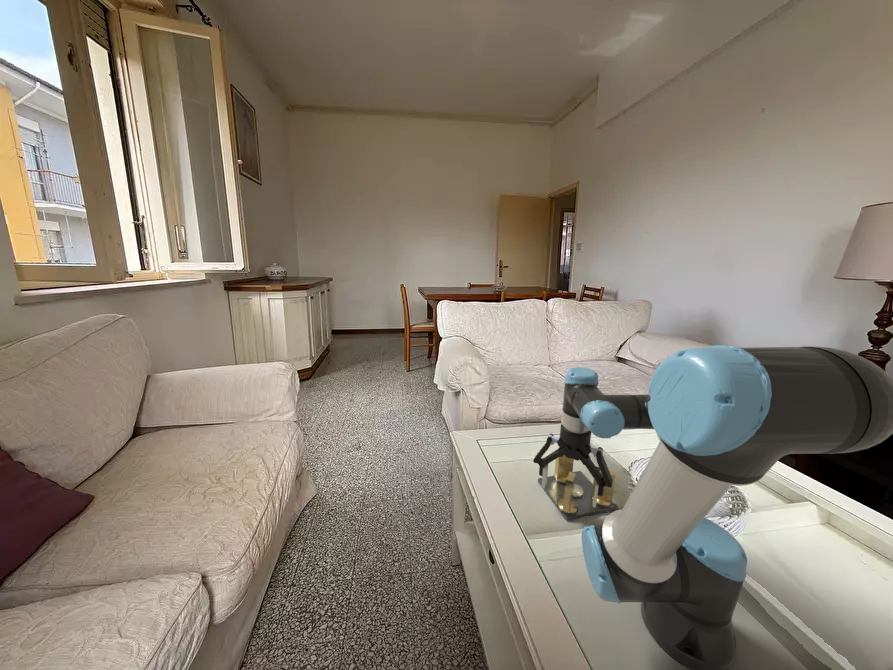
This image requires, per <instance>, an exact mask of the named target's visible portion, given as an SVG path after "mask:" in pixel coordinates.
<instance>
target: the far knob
mask: <svg viewBox="0 0 893 670" xmlns="http://www.w3.org/2000/svg"><path fill="white" fill-rule="evenodd" d="M574 461H575V460H574V459H572V458H567V457H566V456H565V455H562V456H561V457H558V458H557V459H555V463H554V464H555V465H554V473H553V476H554V477H555V479H556V480H557V481H559V482H562V483H565V481H566V479H567V477H568V474H569V472H574Z"/></svg>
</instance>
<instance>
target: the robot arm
mask: <svg viewBox="0 0 893 670" xmlns="http://www.w3.org/2000/svg"><path fill="white" fill-rule="evenodd" d="M563 383H564V387H563V388H564V390H563V401H562V410H561V420H560V423H561V425H560V429H559V437H556V436H554V433H549V435H548V436H547V438H546V442H545V443H544V444H543V446H542V447H541V448H540V449H539V451H538V452H537V453H536V455H535V456H534V458H533V461H532V462H533V463H534V464H538V466H539V470H538V474H539V476H540V477H541V478H542V487H541V486H540V487H541V489H544V488H545V486H546V484H547V477H548V474H549V473H548V471H549V465H550V464H551V463H552V462H554V461H556V459H557V458H558V457H561V456H562V455H565V456H566V457H567V458H572V459H574V461H580V462H581V463H582V465H583V466H585V467H586V469H587V470H588V472H589V473H590V474H591V476H592V478H593V480H594V479H595V480H596V485H595V492H594V499H593V507H596V504H597V499H598V496H601V497H602V495H603V490H604V487H605V486H607V487H612V483H613V479H612V477H611V474H610V472H609V471H610V470H609V467H608V465H607V462H606V460H605V456H604V448H602V446H599V447H597V448H595V447H592V446H591V440H592V435H594V436H595V437H597V438H601V439H611V438H613V437H615V436H618V435H619V434H620V433H621V432H622V431H623V430H654V431H655V432H656V436H657V438H658V441H659V442H658V444H657V446H656V447H655V450H653V451H654V452H653V453H652V454H651V456H650V458H649V461H648V462H647V464H646V465H645V468H644V469H643V471H642V473H641V475H640V477H639V479H637V482H636V484H635V486H634V488H633V489H632V490H631V493H630V494H629V496H628V498H627V500H626V501H625V504H623V505H624V506H623V507H622V509H617V510H614V511H611V513H609V514H608V515H607V516H606V518H605V519H604V520H603V523H602V524H601V525H594V524H591V525H587V526H584V527H583V529H582V531H581V547H582V553H583V558H584V559H583V560H584V562H585V567H586V571H587V574H588V577H589V580H590V583H591V586H592V587H593V589H594V591H595V594H596V595H597V596H598V598H600V599H601V600H602V601H603V602H609V603H615V604H618V605H620V604H621V603H641V605H640V612H641V613H640V614H641V617H642V618H641V619H642V620H643V623H644V625H645V627H646V630H647V631H648V633H649V634H650V636H651V637H652V639H653V640H654V641H655V643H656V644H657V645H658V646H660V648H662V650H663V651H664V652H665V653H667V654H668V655H669V656H670V657H671V658H673V659H674V660H676V661H677V662H679V663H680V664H681V665H684V666H685V667H687V668H689V669H692V670H727V669H728V670H729V669H731V667H732V665H733V663H734V661H735V658H736V654H737V640H736V635H735V633H734V628H733V627H734V626H733V621H732V619H733V615H734V612H735V609H736V605H737V603H738V600H739V597H740V593H741V591H742V587H743V584H744V581H745V580H746V577H747V572H746V570H747V567H748V556H747V554H746V552H745V550H744V548H743V546H742V545H741V543H740V542H739V541H738V540H737V539H736V538H735V537H734V536H733V535H732V534H731V533H730V532H728V531H727V530H726V529H725V528H724V527H722V526H721V525H719V524H718V523H715V522H713V521H711V519H708V518H706V517H707V515H708V514H709V513H710V512H711V511H712V510H713V508H714V507H715V506H716V505H717V503H718V502H719V501H721V499H722V498H723V496H724V495H725V494H726V493H727V492H728V490H730V488H731V487H732V486H736V487H737V486H738V487H740V486H741V487H742V486H748V485H752V484H755V483H757V482H758V481H760V480H762V479H763V477H764V476H765V475H766V474H767V473H768V472H769V471H770V470H771V469H772V468H773V467H774V466H775V464H776V463H777V462H778V461H779V460H780V459H781V458H783V457H785V456H788V455H797V454H798V455H801V454H803V455H805V454H807V455H808V454H809V455H810V454H811V455H812V454H813V455H814V454H817V455H821V454H822V455H823V454H826V455H827V454H829V455H830V454H831V455H832V454H834V455H835V454H847V453H853V452H859V451H863V450H868V449H871V448H872V447H874V446H877V445H878V444H881V443H883V442H884V441H886V440H887V439H888V438H890V436H892V435H893V378H892V377H891V376H890V375H889V374H888V373H887V372H886V370H884V369H883V368H881V367H880V366H879V365H877V364H876V363H874V362H873V361H871V360H868V359H867V358H865V357H863V356H861V355H858V354H856V353H852V352H850V351H847V350H842V349H837V348H833V347H826V346H773V347H771V346H769V347H767V346H766V347H763V346H761V347H758V346H757V347H737V346H731V345H721V344H720V345H719V344H717V345H710V346H708V345H707V346H705V347H694V348H685V349H683V350H679V351H677V352H674V353H672V354H671V355H669V356H668V357H667V358H665V359H664V360H663V361H662V362H661V363H660V364H659V366H658V367H657V368H656V369H655V371H654V373H653V375H652V376H651V379H650V382H649V384H648V385H649V386H648V389H647V391H648V392H647V394H646V393H645V394H605V393H603V392H602V390H600V388H598V384H599V374H598V373H597V372H596V371H595V370H594V369H591V368H587V367H580V366H579V367H578V366H577V367H571V368H569V369H567V370H566V374H565V379H564V382H563ZM556 443H557V446H558V448H557V449H555V450H554V451H552V452H551V453H549V454H548V455H546V456H544V455H545V454H546V452H547V451H548V450H549V449H550V446H553V445H555V444H556ZM590 454H592V455H593V457H594V458H596V459H595V460H596V462H597V465H598V466H597V467H599V468H600V470H601V473H602V474H601V473H600V472H599V470H598V469H597V467H596V464H595V463H594V462H593V460H592V459H591V456H590ZM543 456H544V457H543ZM602 475H603V476H602Z"/></svg>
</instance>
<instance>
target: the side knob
mask: <svg viewBox="0 0 893 670" xmlns="http://www.w3.org/2000/svg"><path fill="white" fill-rule="evenodd" d="M595 466H596V465H595ZM596 467H597V469H598V470H599V472H600V473H601V470H600V468H599V466H596ZM609 472H610V474H611V477H612V479H613V483H612V487H607V486H605V487H604V490H603V495H602V497H601V496H598V499H597V504H599V505H602V506H609V505H610V504H611V503H612V504H613V497H614V496H613V495H614V489H615V482H616V477H617V476H616V475H617V472H616V471H615V472H614V471H612V470H609ZM601 474H602V473H601ZM602 476H603V475H602ZM592 484H593V489H592V499H594V492H595V485H596V480H595V479H594V478H593V482H592Z"/></svg>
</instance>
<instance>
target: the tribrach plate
mask: <svg viewBox="0 0 893 670" xmlns="http://www.w3.org/2000/svg"><path fill="white" fill-rule="evenodd" d="M573 473H576V474H575V483H574V492H573V500H572V501H574V502H575V503H576V504H577V511H576V512H575V513H572V514H569V513H565V512H563V511H561V510H560V509H559V507H558V501H559V500H560V499H563V498H564V490H565V483H562V482H559V481H557V480H556V479H555V477H554V475H550V476H547V484H546V486H545V488H544V489H543V488H542V489H543V491H544V492H545V494H546V495H547V497H548V498H549V499H550V501H551V502H552V503H553V505H554V506H555V508H556V509H557V510H558V512H559V513H560V514H561V516H562V517H563V518H564V520H565V521H566V522H569V521H573V520H578V519H582V518H587V517H591V516H595V515H600V514H605V513H610V512H614V511H615V506H614V504H613V502H612V503H611V504H610V505H609V506H602V505H599V504H596V507H593V499H592V489H593V482H592V481H590V479H589V478H588V477H586V476H585V473H583V471H581V470H576V471H573ZM537 483H538V485H539V486H540V487H542V477H540V478H537Z"/></svg>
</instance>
